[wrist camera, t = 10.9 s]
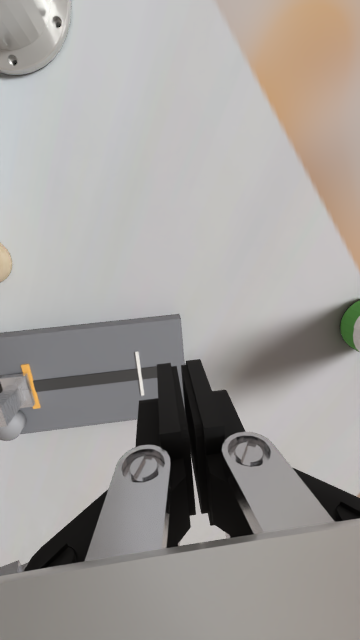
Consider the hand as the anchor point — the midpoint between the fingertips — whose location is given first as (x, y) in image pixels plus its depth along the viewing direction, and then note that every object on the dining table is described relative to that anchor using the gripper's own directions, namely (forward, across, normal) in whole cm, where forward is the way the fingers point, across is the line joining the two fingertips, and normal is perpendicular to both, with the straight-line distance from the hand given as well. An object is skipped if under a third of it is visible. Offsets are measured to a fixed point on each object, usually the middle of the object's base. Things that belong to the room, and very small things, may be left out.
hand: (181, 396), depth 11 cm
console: (+27, +11, +12) cm, 32 cm away
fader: (+25, +19, +12) cm, 33 cm away
